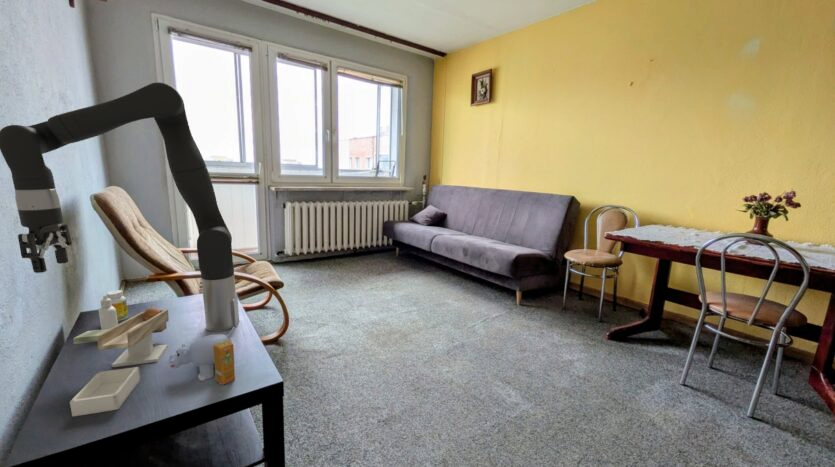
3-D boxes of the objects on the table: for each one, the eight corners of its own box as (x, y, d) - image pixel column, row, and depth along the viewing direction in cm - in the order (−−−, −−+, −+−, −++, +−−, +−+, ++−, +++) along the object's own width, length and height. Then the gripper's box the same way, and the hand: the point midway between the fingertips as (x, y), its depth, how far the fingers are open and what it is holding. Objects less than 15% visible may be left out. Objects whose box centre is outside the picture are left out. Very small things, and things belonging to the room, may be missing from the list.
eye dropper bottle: (120, 326, 112) (115, 291, 109) (118, 333, 107) (113, 297, 105) (102, 329, 109) (96, 294, 107) (100, 337, 105) (93, 300, 103)
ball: (162, 318, 105) (162, 305, 105) (157, 321, 101) (156, 308, 101) (147, 319, 104) (146, 306, 104) (141, 323, 100) (140, 309, 100)
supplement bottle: (108, 318, 117) (104, 291, 115) (128, 314, 121) (124, 288, 119) (107, 323, 113) (103, 296, 111) (128, 319, 117) (124, 292, 115)
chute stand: (168, 346, 101) (165, 326, 99) (157, 361, 93) (154, 339, 92) (126, 351, 98) (123, 330, 96) (112, 367, 90) (108, 344, 89)
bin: (140, 379, 86) (138, 366, 85) (118, 409, 75) (116, 395, 75) (100, 385, 83) (98, 372, 82) (72, 416, 73) (69, 401, 72)
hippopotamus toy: (169, 368, 90) (165, 335, 89) (233, 351, 100) (230, 320, 98) (173, 390, 82) (168, 353, 80) (241, 368, 91) (239, 335, 90)
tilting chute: (168, 327, 106) (168, 309, 106) (132, 354, 83) (131, 332, 83) (119, 332, 102) (118, 313, 102) (66, 362, 79) (64, 339, 79)
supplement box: (223, 386, 84) (219, 348, 82) (215, 381, 86) (212, 344, 84) (236, 379, 87) (233, 342, 85) (228, 374, 88) (225, 338, 87)
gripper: (37, 210, 83) (51, 274, 86) (75, 203, 96) (86, 259, 100) (-4, 211, 81) (12, 277, 84) (41, 203, 94) (53, 261, 97)
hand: (52, 267), depth 92 cm, fingers open, 8 cm apart
